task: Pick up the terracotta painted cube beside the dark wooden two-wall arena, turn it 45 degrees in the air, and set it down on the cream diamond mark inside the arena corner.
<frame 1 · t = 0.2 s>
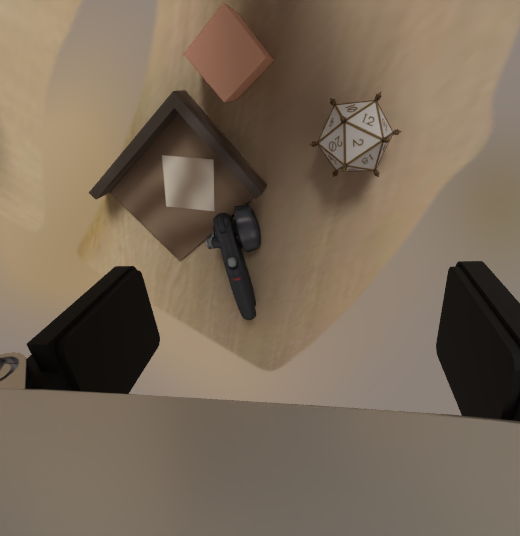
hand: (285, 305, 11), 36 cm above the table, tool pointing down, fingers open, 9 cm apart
game die: (352, 133, 42), on the table
can opener: (242, 258, 52), on the table, touching arena
arena: (182, 185, 48), on the table
cube: (237, 58, 40), on the table
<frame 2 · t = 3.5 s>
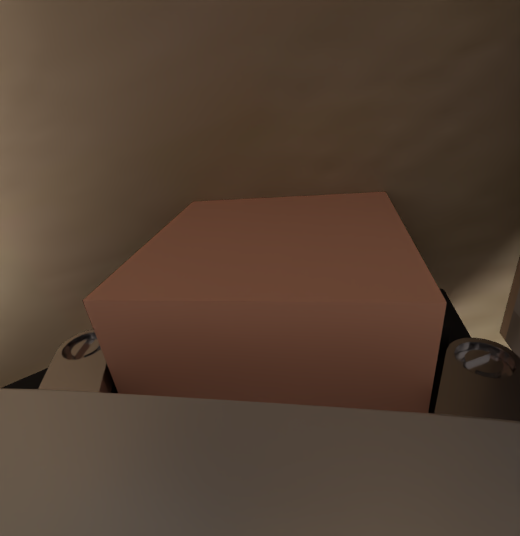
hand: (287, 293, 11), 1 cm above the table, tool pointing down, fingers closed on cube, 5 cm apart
cube: (289, 280, 12), on the table, touching gripper
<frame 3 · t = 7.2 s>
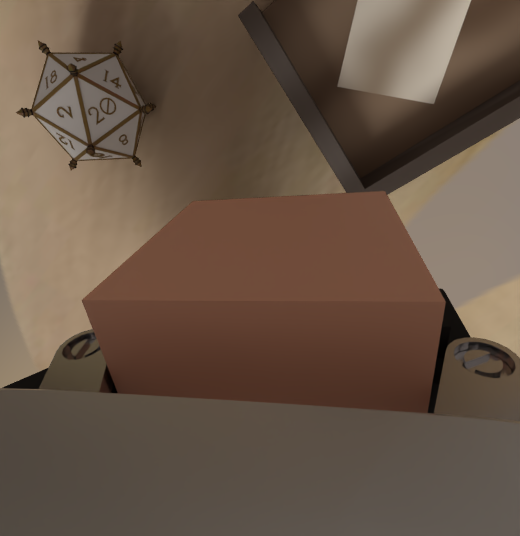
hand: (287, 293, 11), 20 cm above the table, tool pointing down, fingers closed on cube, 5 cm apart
game die: (122, 107, 29), on the table
arena: (417, 35, 24), on the table
cube: (289, 280, 12), point 19 cm above the table, touching gripper
when the fingers open (3 cm above the table, at t = 11.2 s): cube drops 1 cm, resting on arena.
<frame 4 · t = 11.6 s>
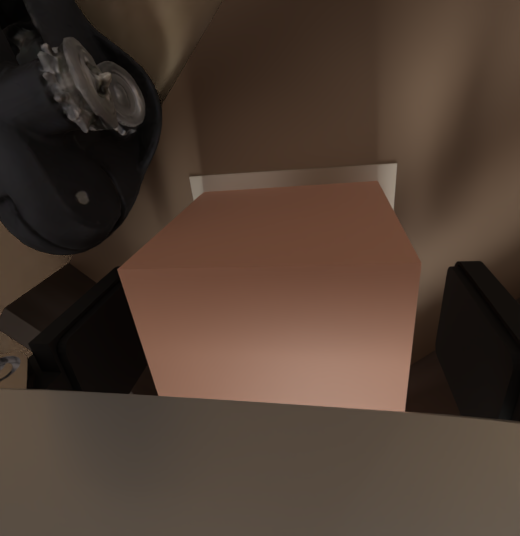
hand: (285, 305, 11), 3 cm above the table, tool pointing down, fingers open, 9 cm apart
arena: (321, 249, 13), on the table
cube: (292, 264, 13), resting on arena
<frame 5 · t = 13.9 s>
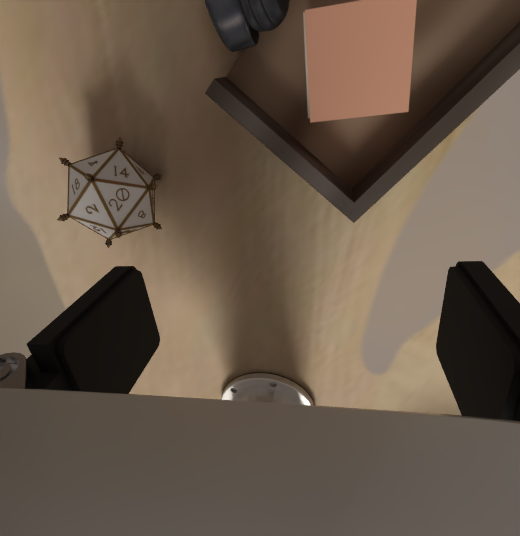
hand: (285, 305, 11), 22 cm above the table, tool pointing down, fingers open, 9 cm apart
game die: (136, 182, 34), on the table
arena: (367, 55, 26), on the table
cube: (352, 63, 26), resting on arena
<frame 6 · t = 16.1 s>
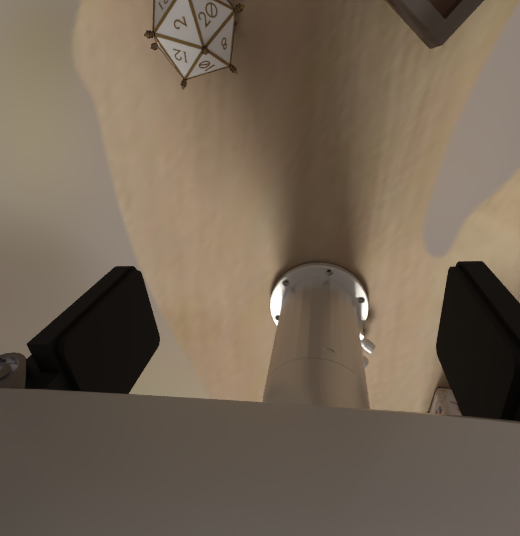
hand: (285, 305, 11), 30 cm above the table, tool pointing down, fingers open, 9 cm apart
game die: (208, 34, 34), on the table
decorative jar: (468, 417, 51), on the table
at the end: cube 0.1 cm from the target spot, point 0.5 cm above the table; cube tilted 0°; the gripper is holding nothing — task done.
